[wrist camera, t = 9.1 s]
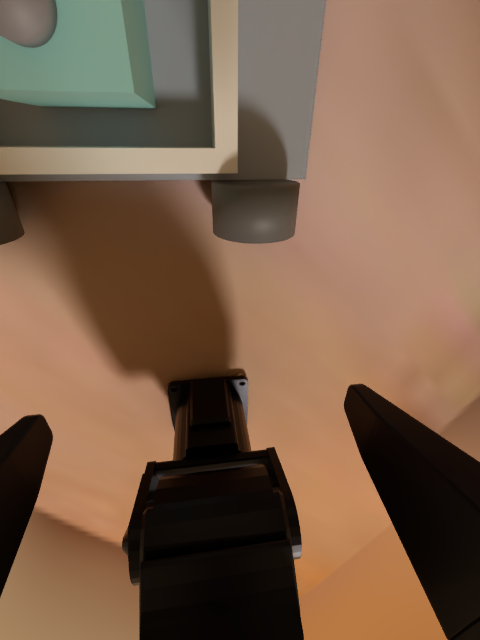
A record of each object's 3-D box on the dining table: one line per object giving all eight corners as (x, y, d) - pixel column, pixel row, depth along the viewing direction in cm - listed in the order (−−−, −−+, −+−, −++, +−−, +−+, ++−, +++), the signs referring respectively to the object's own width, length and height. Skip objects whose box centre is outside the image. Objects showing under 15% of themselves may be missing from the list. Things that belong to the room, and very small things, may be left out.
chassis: (295, 219, 18) (321, 241, 14) (-64, 228, 16) (-142, 256, 12) (353, -328, 9) (458, -634, 6) (-447, -490, 7) (-1173, -1199, 3)
